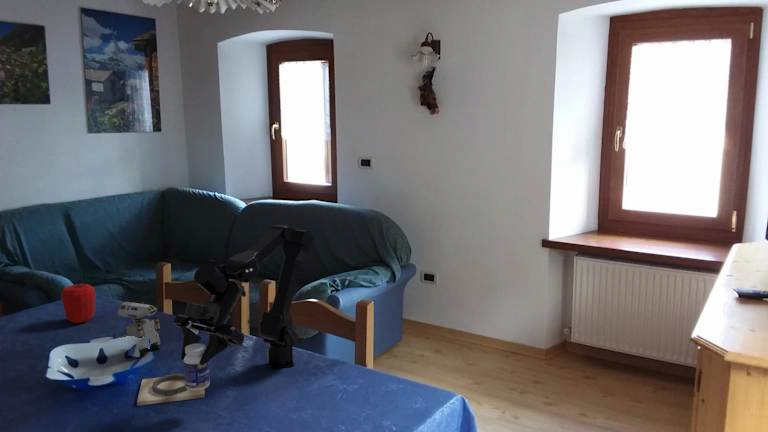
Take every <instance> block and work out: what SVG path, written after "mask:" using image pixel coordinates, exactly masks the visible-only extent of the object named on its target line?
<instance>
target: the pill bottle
mask: <svg viewBox="0 0 768 432" xmlns="http://www.w3.org/2000/svg"><path fill="white" fill-rule="evenodd" d="M206 347H207V346H206V345H205V344H204V343H198V344H191V345H188V346H186V347H185V353H186V354H187V355H186V356H185V358H184V360H183V373H184V374H185V386H186V388H187V389H189V390H194V391H195V390H202V389H204V388H205V389H207V388H208V387H209V386H210V385H211V384H210V383H211V377H210V376H211V374H210V360H209V361H208V362H207V363H206V364H204V365H203V366H202V365H200V364H199V363H200V360H201V358H202V356H203V354H204V352H205V349H206Z"/></svg>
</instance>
